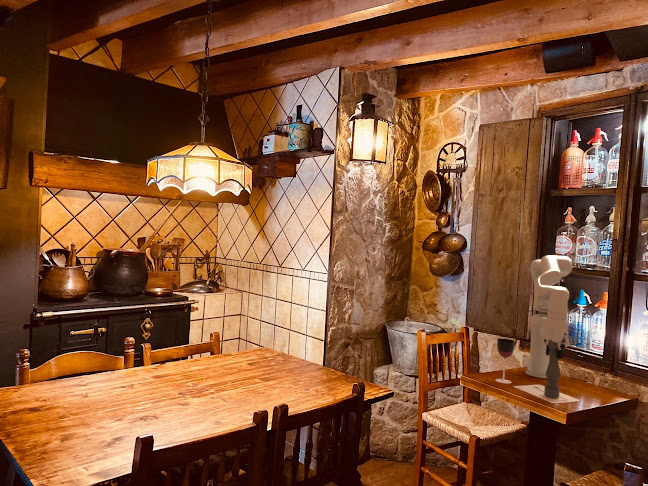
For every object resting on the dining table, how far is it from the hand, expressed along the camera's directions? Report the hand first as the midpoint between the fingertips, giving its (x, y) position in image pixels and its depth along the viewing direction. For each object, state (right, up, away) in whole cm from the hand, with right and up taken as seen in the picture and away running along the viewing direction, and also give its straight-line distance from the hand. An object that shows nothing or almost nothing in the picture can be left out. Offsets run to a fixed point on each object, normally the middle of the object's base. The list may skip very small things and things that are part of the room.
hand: (554, 356), depth 226 cm
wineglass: (-15, -17, +23) cm, 32 cm away
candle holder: (-1, -18, 0) cm, 18 cm away
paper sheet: (-1, -18, +5) cm, 19 cm away
